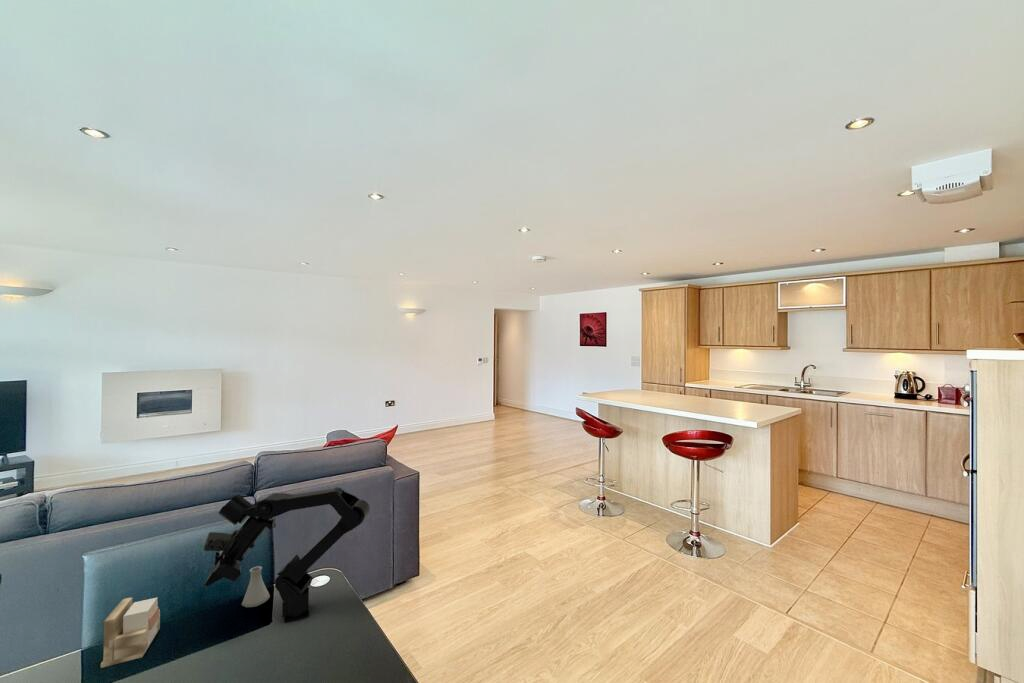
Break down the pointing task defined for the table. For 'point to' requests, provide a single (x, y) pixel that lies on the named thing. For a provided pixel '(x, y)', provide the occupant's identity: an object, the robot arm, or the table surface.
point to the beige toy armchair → (123, 637)
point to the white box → (142, 618)
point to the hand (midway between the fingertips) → (206, 585)
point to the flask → (255, 589)
